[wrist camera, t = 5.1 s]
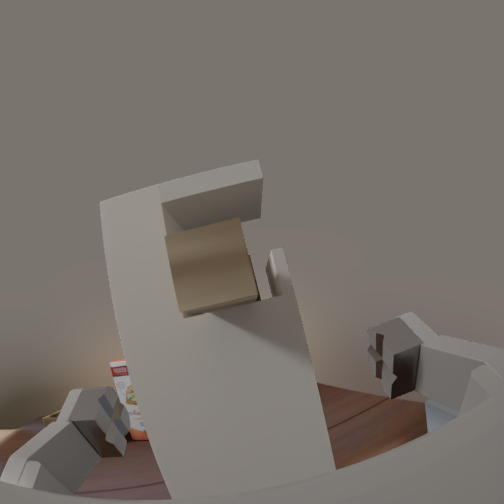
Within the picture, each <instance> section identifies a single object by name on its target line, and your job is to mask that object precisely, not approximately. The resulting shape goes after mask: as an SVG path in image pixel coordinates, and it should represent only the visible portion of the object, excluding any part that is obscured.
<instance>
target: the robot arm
mask: <svg viewBox="0 0 504 504" xmlns="http://www.w3.org/2000/svg"><path fill="white" fill-rule="evenodd" d="M367 339H368V340H369V342H370V343H371V345H370V347H369V348H368V360H369V365H370V368H371V370H372V372H373V373H374V375H375V377H377V378H380V379H382V387H383V389H384V390H385V392H386V393H387V395H388V397H389V398H390V400H391V399H393V398H396V397H398V396H401V395H403V394H406V393H408V392H411V391H413V390H415V391H416V392H418V393H420V394H422V395H424V396H426V397H428V398H430V399H432V400H434V401H437V402H439V403H441V404H443V405H445V406H447V407H449V408H452V409H454V410H456V411H458V412H459V415H458V417H457V418H455V419H453V420H451V421H450V422H448V423H446V424H444V425H442V426H440V427H438V428H436V429H435V430H433V431H431V432H429V433H427V434H425V435H423V436H420V437H418V438H416V439H414V440H412V441H410V442H408V443H406V444H403V445H401V446H399V447H396V448H394V449H392V450H389V451H387V452H385V453H382V454H380V455H377V456H375V457H372V458H369V459H367V460H364V461H361V462H359V463H356V464H353V465H350V466H347V467H344V468H341V469H338V470H335V471H332V472H329V473H325V474H322V475H319V476H315V477H311V478H308V479H304V480H300V481H296V482H292V483H288V484H284V485H279V486H275V487H270V488H265V489H260V490H254V491H248V492H242V493H236V494H229V495H221V496H212V497H203V498H191V499H174V500H117V499H101V498H89V497H80V496H75V495H74V493H75V492H76V491H77V490H78V488H79V487H80V486H81V485H82V483H83V482H84V481H85V480H86V478H87V477H88V476H89V475H90V473H91V472H92V471H93V470H94V468H95V467H96V466H97V465H98V463H99V462H100V461H101V459H102V458H101V457H124V452H125V448H126V443H127V441H126V439H125V438H124V436H125V435H126V434H127V433H128V432H129V429H130V416H129V414H128V411H127V409H126V407H125V406H124V405H123V404H122V403H120V402H118V401H117V397H118V395H117V393H116V392H115V390H114V389H113V388H112V387H98V388H85V389H73V390H72V391H70V393H69V395H68V397H67V399H66V401H65V403H64V405H63V407H62V410H61V412H60V414H59V416H58V418H57V420H56V422H52V423H50V424H49V425H48V426H47V427H45V428H44V429H43V430H42V431H41V432H39V433H38V434H37V435H36V436H34V437H33V438H32V439H31V440H29V441H28V442H27V443H26V444H25V445H23V446H22V447H21V448H20V449H18V450H17V451H16V452H15V453H13V454H12V455H11V456H10V457H9V459H8V462H7V464H6V466H5V468H4V471H3V473H2V475H1V478H0V504H504V349H502V348H498V347H493V346H488V345H484V344H480V343H475V342H471V341H466V340H462V339H458V338H454V337H449V336H445V335H442V336H438V335H437V334H436V333H435V332H434V331H432V330H431V329H430V328H429V327H428V326H427V325H426V324H425V323H424V322H423V321H422V320H421V319H419V318H418V317H417V316H416V315H415V314H414V313H412V312H408V313H406V314H403V315H401V316H398V317H396V318H394V319H392V320H389V321H386V322H383V323H380V324H378V325H375V326H372V327H369V328H368V331H367Z"/></svg>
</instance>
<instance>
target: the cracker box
mask: <svg viewBox="0 0 504 504" xmlns="http://www.w3.org/2000/svg"><path fill="white" fill-rule="evenodd" d="M110 367H111V370H112V374H113V378H114V382H115V385H116V389H117V392H118V396H119V399H120V403H122V404H123V405H124V406H125V407H126V409H127V411H128V414H129V416H130V429H129V431H130V434H131V436H132V439H133V440H149V439H148V436H147V433H146V430H145V427H144V424H143V421H142V418H141V415H140V411H139V408H138V405H137V402H136V398H135V395H134V391H133V388H132V384H131V381H130V377H129V373H128V369H127V365H126V361H125V359H120V360H115V361H112V362H110Z"/></svg>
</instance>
